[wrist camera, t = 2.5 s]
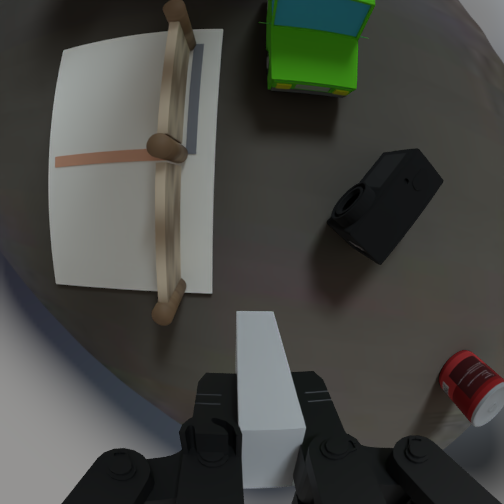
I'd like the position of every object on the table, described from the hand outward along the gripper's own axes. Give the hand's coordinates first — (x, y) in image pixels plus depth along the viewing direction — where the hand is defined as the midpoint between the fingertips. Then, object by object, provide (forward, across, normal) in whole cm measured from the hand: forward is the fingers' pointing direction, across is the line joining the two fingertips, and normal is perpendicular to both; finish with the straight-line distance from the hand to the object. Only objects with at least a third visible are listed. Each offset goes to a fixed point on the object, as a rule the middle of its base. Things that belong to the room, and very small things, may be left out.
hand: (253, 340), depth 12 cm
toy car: (+19, +6, +22) cm, 30 cm away
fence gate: (+18, -7, +1) cm, 19 cm away
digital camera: (+19, +13, +6) cm, 24 cm away
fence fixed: (+19, -6, +15) cm, 25 cm away
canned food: (+19, +34, -19) cm, 44 cm away
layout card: (+19, -12, +9) cm, 24 cm away
